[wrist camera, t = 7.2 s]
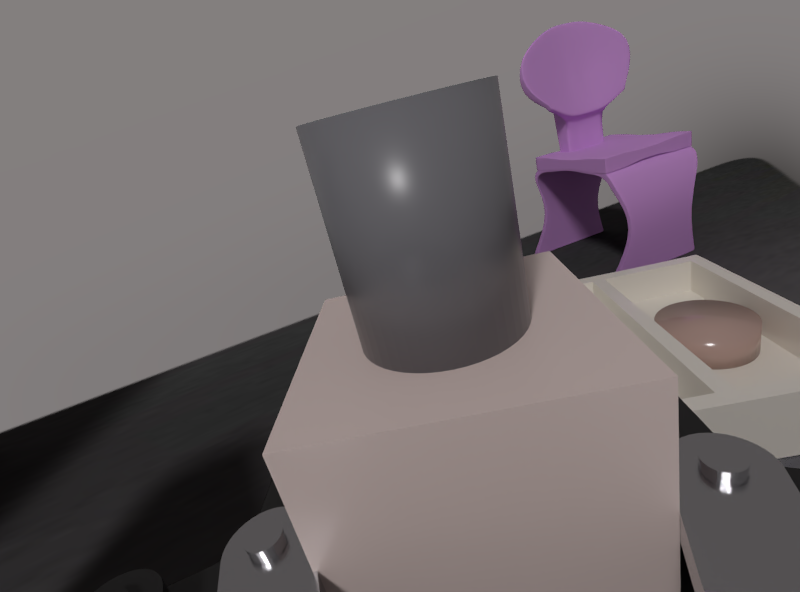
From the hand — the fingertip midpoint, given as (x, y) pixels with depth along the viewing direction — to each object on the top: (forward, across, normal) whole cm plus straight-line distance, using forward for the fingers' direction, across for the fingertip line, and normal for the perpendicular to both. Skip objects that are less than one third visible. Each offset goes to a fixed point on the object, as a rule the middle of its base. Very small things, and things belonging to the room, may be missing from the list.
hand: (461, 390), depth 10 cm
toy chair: (+23, +12, -7) cm, 27 cm away
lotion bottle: (-3, 0, -6) cm, 7 cm away
